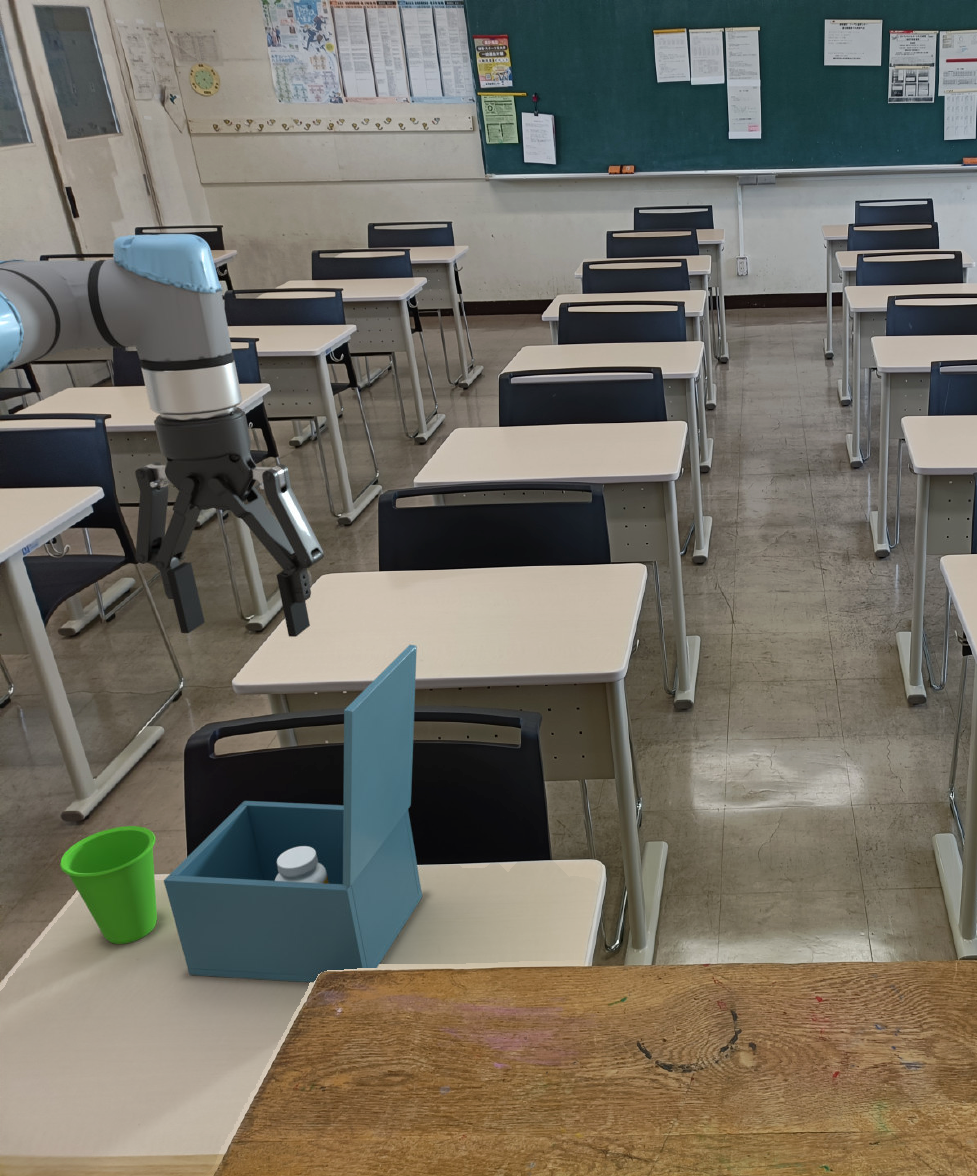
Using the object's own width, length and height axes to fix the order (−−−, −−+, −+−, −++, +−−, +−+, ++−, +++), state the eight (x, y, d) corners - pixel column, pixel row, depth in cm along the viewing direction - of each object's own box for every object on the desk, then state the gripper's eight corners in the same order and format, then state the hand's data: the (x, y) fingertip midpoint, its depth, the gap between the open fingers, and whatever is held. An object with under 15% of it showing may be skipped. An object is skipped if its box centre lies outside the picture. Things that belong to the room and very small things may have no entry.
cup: (127, 964, 114) (102, 881, 110) (65, 946, 117) (39, 865, 113) (194, 913, 122) (173, 834, 118) (135, 897, 125) (113, 819, 120)
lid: (343, 709, 98) (352, 711, 98) (409, 644, 112) (417, 645, 112) (342, 885, 106) (350, 887, 106) (404, 804, 120) (410, 805, 120)
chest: (189, 975, 112) (163, 880, 108) (264, 887, 126) (244, 800, 122) (365, 985, 111) (346, 890, 106) (422, 896, 124) (408, 808, 120)
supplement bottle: (279, 946, 115) (262, 874, 112) (292, 914, 120) (276, 844, 117) (330, 940, 116) (315, 868, 113) (341, 909, 121) (327, 839, 117)
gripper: (338, 403, 99) (373, 617, 107) (109, 401, 101) (161, 611, 109) (296, 421, 92) (338, 648, 100) (52, 417, 94) (112, 641, 102)
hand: (246, 629), depth 104 cm, fingers open, 10 cm apart
